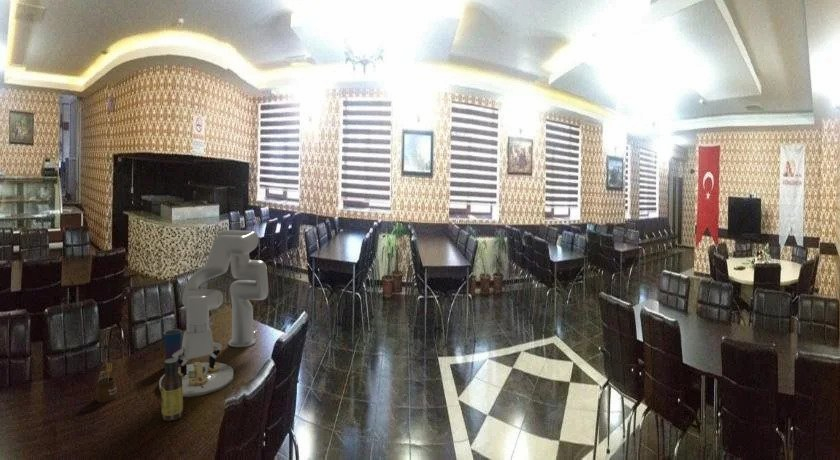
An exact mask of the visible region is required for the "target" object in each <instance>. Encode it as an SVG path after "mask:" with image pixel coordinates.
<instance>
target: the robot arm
mask: <svg viewBox="0 0 840 460" xmlns="http://www.w3.org/2000/svg"><path fill="white" fill-rule="evenodd" d="M259 240H260V239H259V235H258V233H257V232H256V231H253V230H240V229H239V230H235V229H233V230H232V229H224V230H221V231H219V232H218V234H217V237H215V238H214V240H213V243H212V245H211V248H210V251H209V255H208V257H207V261H206V263H205V265H203V266H202V267H201V268H199V269H198V270H197V271H196V272H194V273H193V274H192V275H191V276H190V277H189V279H188V280H187V283H186V285H185V288H184V291H183V293H182V299H181V300H182V301H181V302H182V305H183V306H184V307H185V308H186V330H185V331H184V332H183V336H182V340H181V349H180V350H179V351H177V352H176V353H174V354H173V355H172V356H173V358H177V359H178V363H179V364H180V367H181V373H182V374H183V375H184V376H186V375H187V366H186V365H187V362H188V361H189V360H193V359H199V358H202V357H206V356H209V357H208V360H209V361H208V362H209V367H210V368H212V369H214V365H215V362H216V358H217V357H218V355H219V353H220V352H221V350H222V348H223V345H222V344H221V343H218V342H215V341H214V339H213V333H212V329H211V328H210V327H211V326H213V325H214V322H213V321H210V311H212V310H216V309H218V308H219V307H221V305H222V304H223V302H224V294H223V293H222V291H220V290H218V289H205V288H204V289H203V288H202V289H201V288H199V287H200V285H202V284H203V283H204V282H206V281H208V280H211V279H214V278H217V277H219V276H221V275H224V274H225V273H228V271H229V270H228V269H229V266H230V271H231V272H230V273H231V275H232V277H233V278H234V279H236V280H235V281H233V282H232V283H231V284H230V287H229V293H230V294H229V295H230V299H231V339H230V340H229V341H228V345H229V346H230V347H233V348H247V347H250V346H253V345H254V344H256V343H257V339H256V338H255V336H256V335H258V333H259V331H258V330H257V329H255V330H254V306H253V305H252V303H251V301H263V300H266V299H267V298H268V296H269V295H268V294H269V281H268V279H269V277H268V269H267V268H268V267H267V265H266V262H264V261H263V260H259V259H251V258H250V253H252V252H253V251H255V249H256V248H257V247H258V245H259ZM214 347H215V348H216V349H215V350H214ZM179 355H180V356H181V355H182V357H181V358H180V359H179V358H178V356H179Z"/></svg>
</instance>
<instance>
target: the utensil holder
mask: <svg viewBox="0 0 840 460" xmlns="http://www.w3.org/2000/svg"><path fill="white" fill-rule="evenodd" d="M112 367H113V363H112V362H107V363H106V371H100V373H99V374H100V376H101V377H100V376H98V377H99V379H98V380H97V382H96V385H97V386H96V387H95V398H96V401H97V403H98V402H99V403H107V402H106V401H108V402H112V401H114V400H115V399H116V398H117V384H116V379H115V377H114V376H110V373H111V372H112V371H113V370H112ZM102 373H103V374H102ZM105 373H107V376H106V375H105ZM102 375H104V377H103V376H102Z"/></svg>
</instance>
